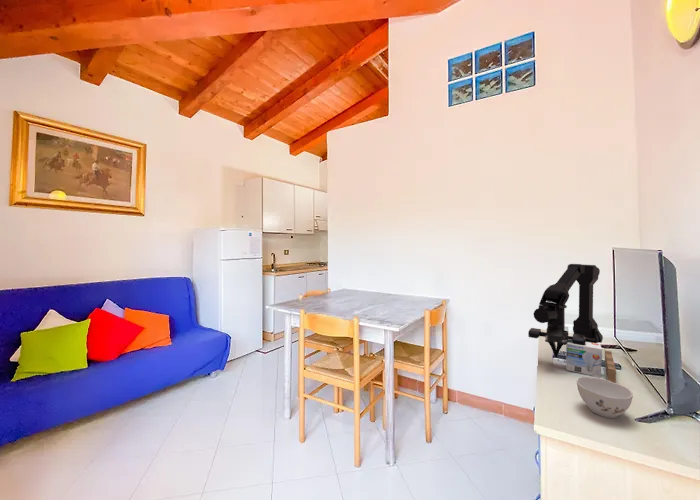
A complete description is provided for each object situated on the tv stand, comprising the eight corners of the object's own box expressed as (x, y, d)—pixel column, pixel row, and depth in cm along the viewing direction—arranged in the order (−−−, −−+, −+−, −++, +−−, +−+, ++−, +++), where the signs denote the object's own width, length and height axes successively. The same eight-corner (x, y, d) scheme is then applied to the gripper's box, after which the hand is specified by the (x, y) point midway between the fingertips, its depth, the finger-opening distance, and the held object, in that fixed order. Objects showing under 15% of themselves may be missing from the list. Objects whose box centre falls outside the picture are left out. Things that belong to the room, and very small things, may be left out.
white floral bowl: (636, 431, 76) (636, 402, 76) (577, 415, 84) (576, 388, 84) (628, 405, 88) (628, 379, 88) (576, 393, 96) (576, 369, 96)
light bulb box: (566, 370, 112) (566, 343, 111) (565, 364, 117) (565, 338, 117) (602, 377, 106) (602, 349, 105) (600, 370, 111) (600, 343, 111)
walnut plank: (605, 365, 115) (604, 350, 115) (611, 366, 114) (611, 351, 114) (608, 385, 100) (608, 368, 100) (616, 387, 99) (615, 369, 99)
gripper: (526, 320, 117) (526, 358, 117) (585, 328, 105) (585, 370, 105) (530, 314, 125) (530, 349, 126) (585, 321, 113) (585, 360, 114)
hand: (556, 357), depth 117 cm, fingers closed
